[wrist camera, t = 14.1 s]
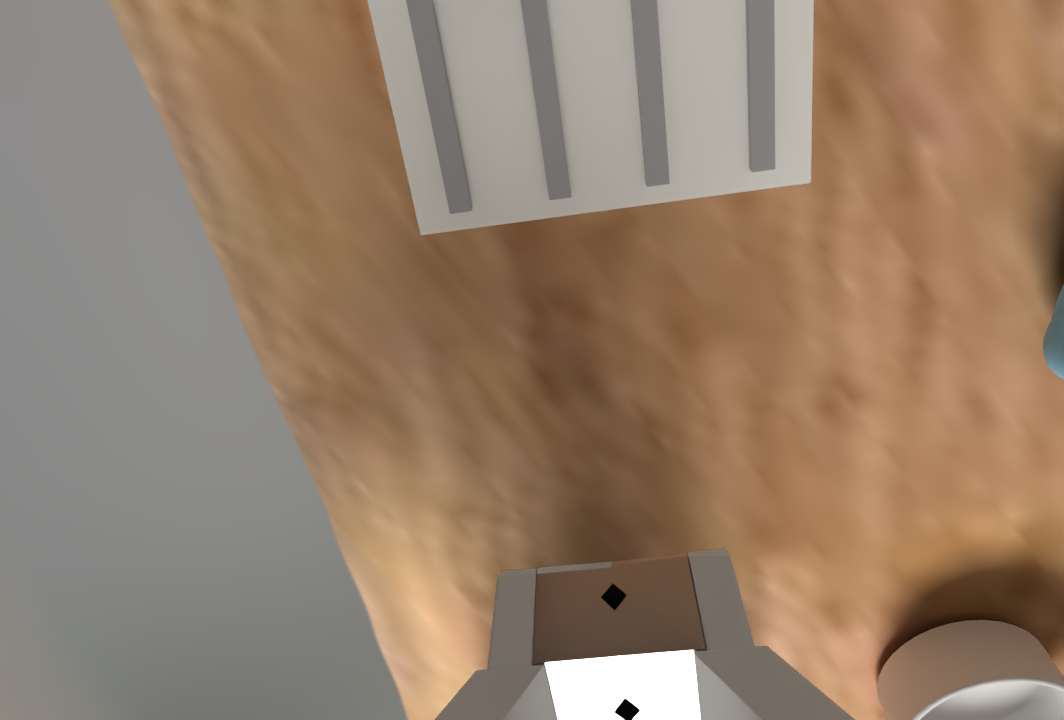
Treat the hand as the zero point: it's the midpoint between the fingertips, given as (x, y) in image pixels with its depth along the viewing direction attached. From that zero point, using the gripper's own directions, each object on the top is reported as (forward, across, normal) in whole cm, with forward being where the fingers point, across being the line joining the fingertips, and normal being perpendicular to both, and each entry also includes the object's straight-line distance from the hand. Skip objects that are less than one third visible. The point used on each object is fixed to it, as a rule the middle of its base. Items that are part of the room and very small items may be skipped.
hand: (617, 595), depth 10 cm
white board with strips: (+29, -1, -6) cm, 30 cm away
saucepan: (+29, -19, +42) cm, 55 cm away
